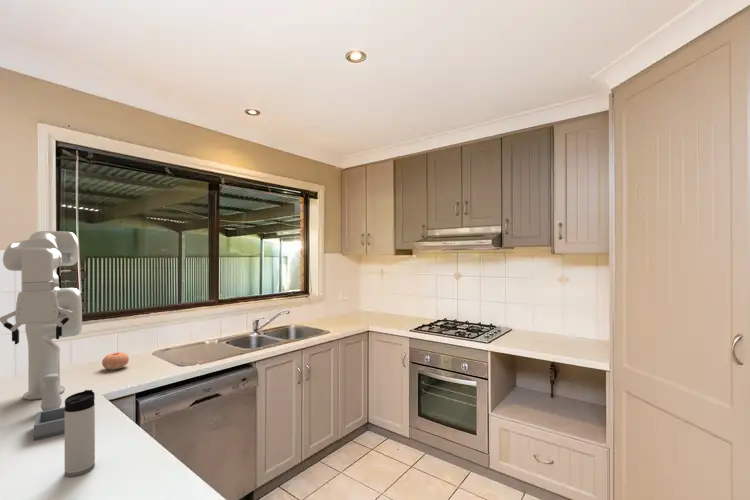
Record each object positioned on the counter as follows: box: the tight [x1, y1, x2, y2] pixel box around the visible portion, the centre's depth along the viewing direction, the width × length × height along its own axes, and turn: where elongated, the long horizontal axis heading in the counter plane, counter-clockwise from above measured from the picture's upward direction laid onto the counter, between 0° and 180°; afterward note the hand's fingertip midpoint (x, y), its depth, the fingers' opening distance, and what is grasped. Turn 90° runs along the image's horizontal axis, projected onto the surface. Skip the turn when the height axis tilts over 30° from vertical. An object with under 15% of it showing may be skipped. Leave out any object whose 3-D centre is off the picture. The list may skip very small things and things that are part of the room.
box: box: [33, 406, 65, 441], centre depth 121 cm, size 12×12×4 cm
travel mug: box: [64, 389, 96, 478], centre depth 98 cm, size 6×7×20 cm
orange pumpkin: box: [101, 351, 130, 371], centre depth 181 cm, size 11×11×8 cm
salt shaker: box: [40, 374, 62, 412], centre depth 134 cm, size 6×6×13 cm
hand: (37, 340), depth 118 cm, fingers open, 9 cm apart
